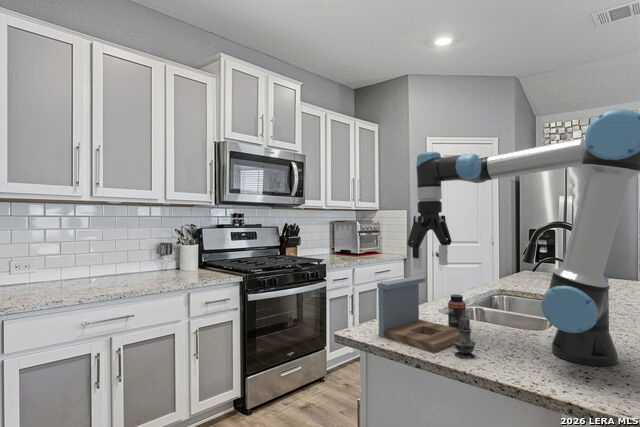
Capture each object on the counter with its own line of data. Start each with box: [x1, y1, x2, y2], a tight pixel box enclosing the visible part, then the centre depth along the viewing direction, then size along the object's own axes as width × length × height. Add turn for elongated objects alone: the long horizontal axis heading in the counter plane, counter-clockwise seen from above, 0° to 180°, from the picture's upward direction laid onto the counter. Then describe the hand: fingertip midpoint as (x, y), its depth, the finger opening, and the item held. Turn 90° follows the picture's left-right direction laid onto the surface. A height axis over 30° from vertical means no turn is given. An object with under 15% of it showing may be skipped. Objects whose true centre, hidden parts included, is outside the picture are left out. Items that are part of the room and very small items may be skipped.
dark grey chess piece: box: [454, 313, 476, 360], centre depth 110 cm, size 6×6×12 cm
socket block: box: [383, 319, 459, 354], centre depth 125 cm, size 19×19×2 cm
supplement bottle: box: [447, 293, 467, 329], centre depth 137 cm, size 6×6×11 cm
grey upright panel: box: [376, 276, 426, 339], centre depth 132 cm, size 4×20×18 cm, turn 130°
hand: (431, 266), depth 125 cm, fingers open, 13 cm apart
